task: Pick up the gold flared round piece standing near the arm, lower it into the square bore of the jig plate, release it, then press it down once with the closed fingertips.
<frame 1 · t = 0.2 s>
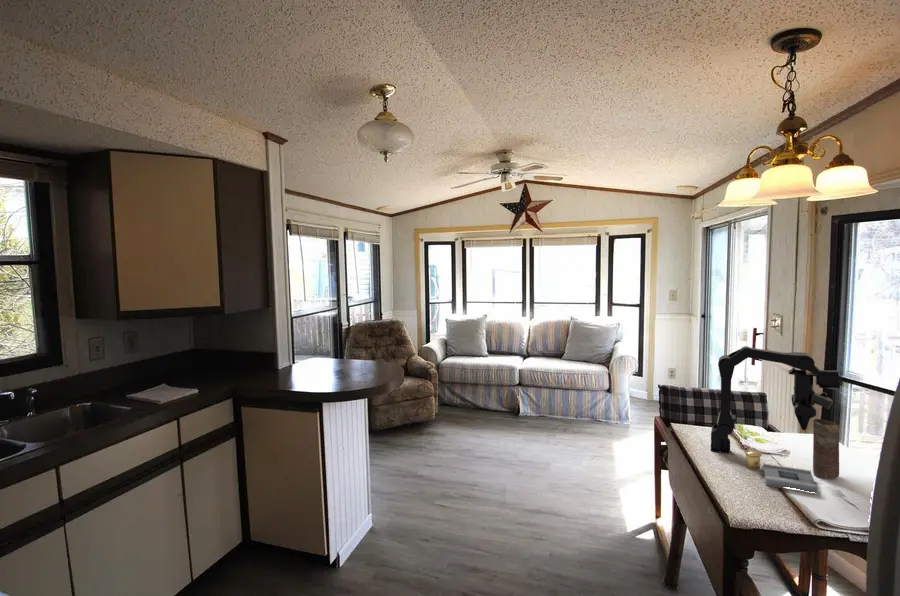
hand: (802, 426, 173), 14 cm above the table, fingers open, 9 cm apart
jig: (788, 482, 160), on the table
gold flared round piece: (753, 467, 172), on the table
candle: (825, 476, 163), on the table
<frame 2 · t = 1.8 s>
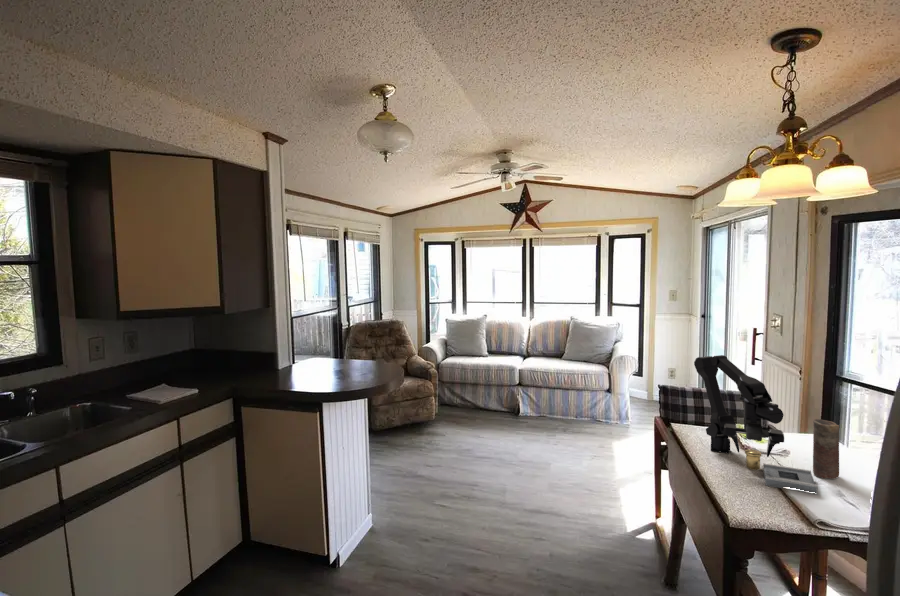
hand: (752, 454, 171), 5 cm above the table, fingers open, 9 cm apart
nothing on the table moved.
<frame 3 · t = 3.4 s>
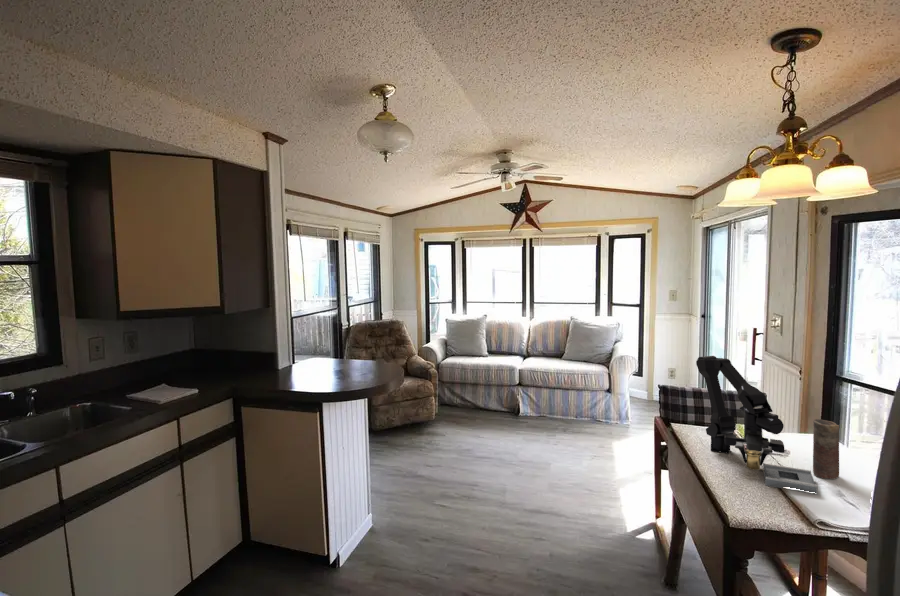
hand: (753, 464, 171), 1 cm above the table, fingers closed on gold flared round piece, 4 cm apart
gold flared round piece: (753, 467, 172), on the table, touching gripper
everything else where it was.
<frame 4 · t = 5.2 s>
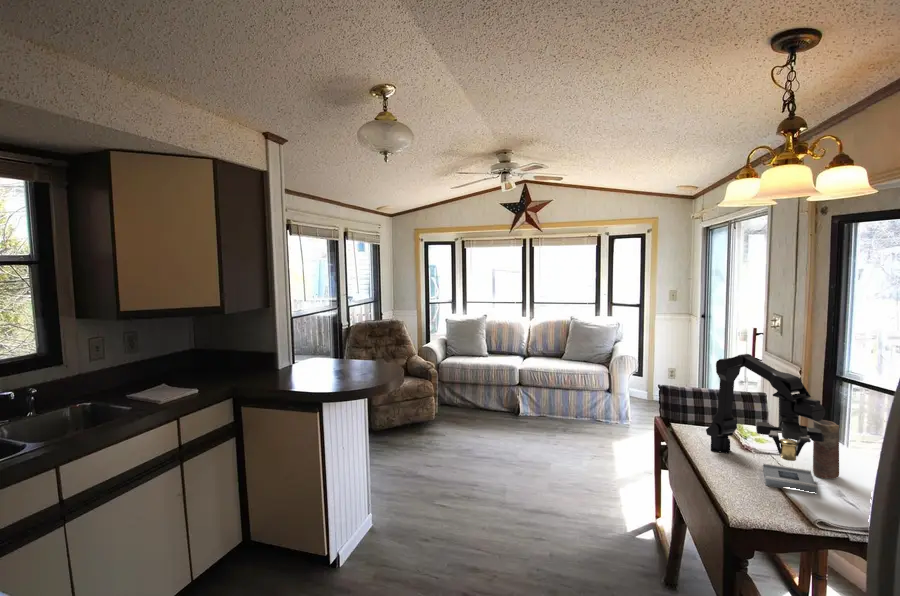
hand: (788, 454, 159), 10 cm above the table, fingers closed on gold flared round piece, 4 cm apart
gold flared round piece: (788, 458, 159), point 9 cm above the table, touching gripper
everything else where it was.
when the fingers open (3 cm above the table, at t = 7.0 s): gold flared round piece drops 2 cm, resting in jig.
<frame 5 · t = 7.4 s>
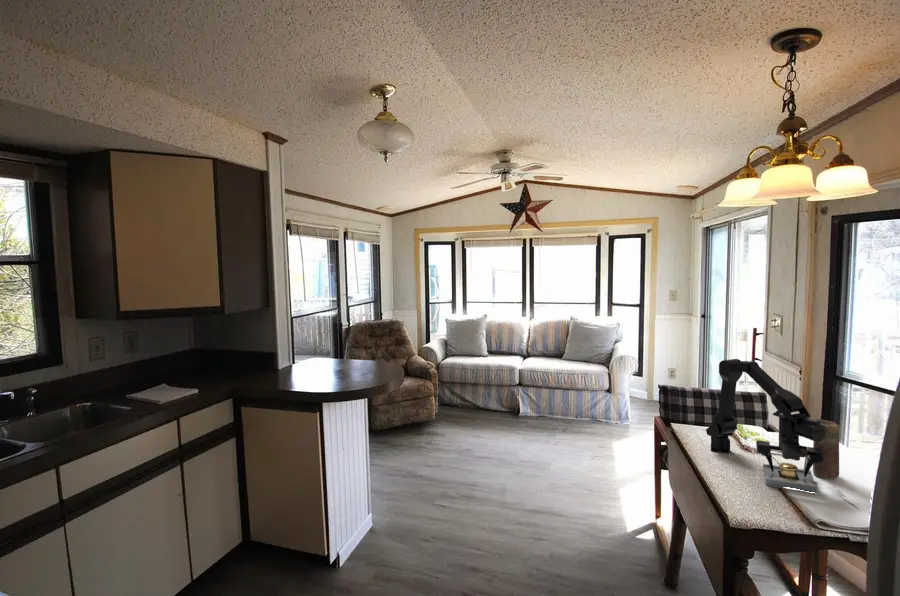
hand: (788, 473, 159), 3 cm above the table, fingers open, 9 cm apart
gold flared round piece: (788, 482, 160), resting in jig
everything else where it was.
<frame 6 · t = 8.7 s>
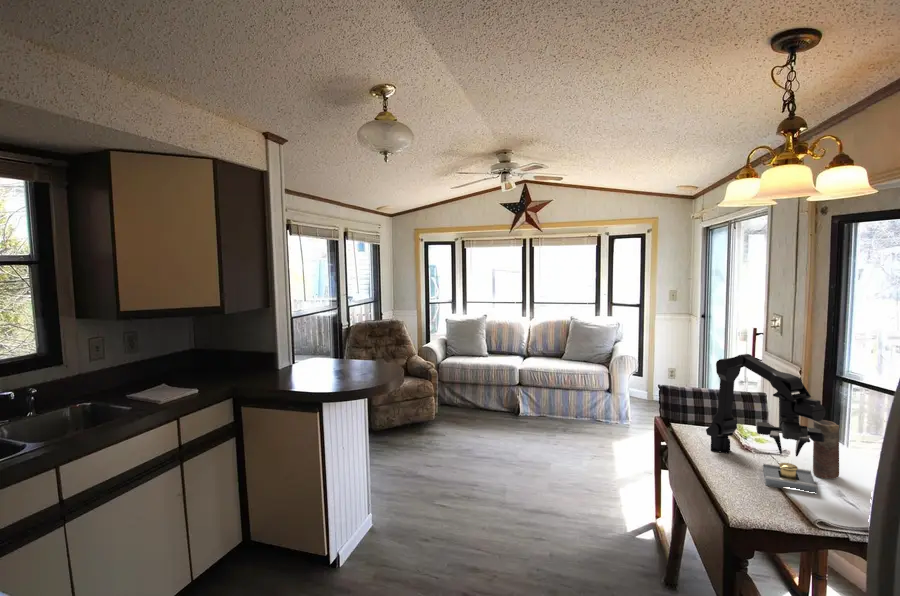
hand: (788, 454, 159), 10 cm above the table, fingers open, 4 cm apart
nothing on the table moved.
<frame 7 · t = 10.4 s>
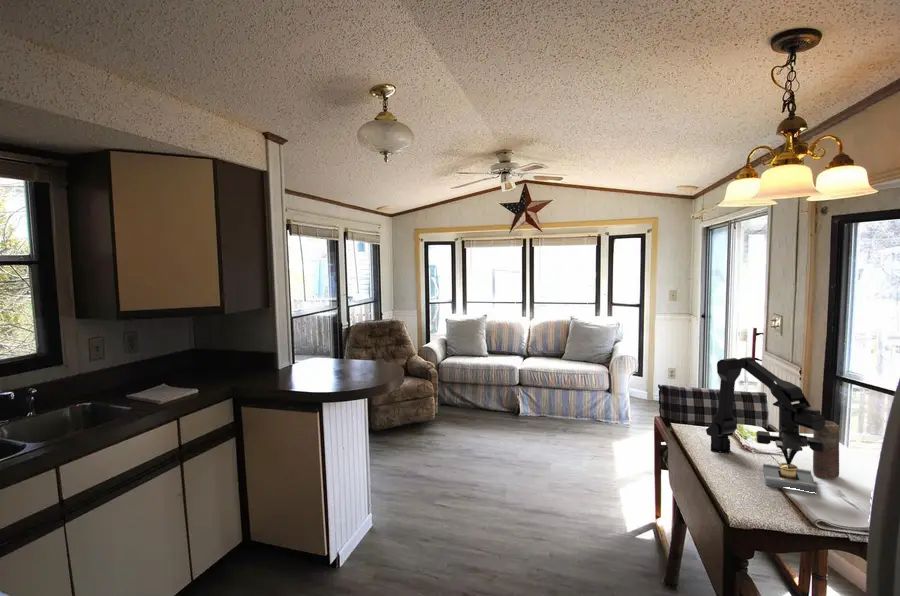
hand: (788, 464, 159), 7 cm above the table, fingers closed
nothing on the table moved.
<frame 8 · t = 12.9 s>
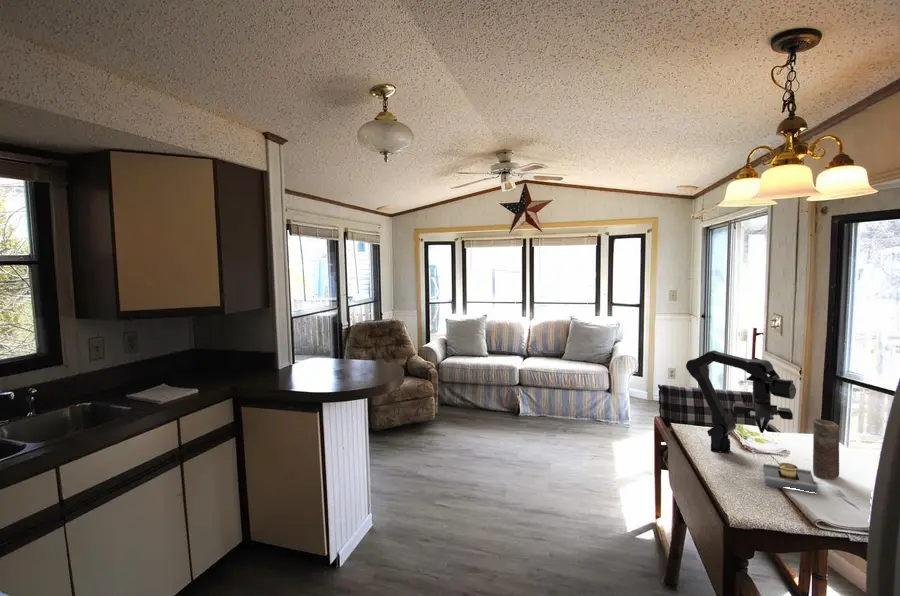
hand: (761, 432, 174), 12 cm above the table, fingers closed
nothing on the table moved.
at the end: gold flared round piece 0.0 cm off-centre on the jig, point 0.0 cm above the jig's base; gold flared round piece tilted 0°; the gripper is holding nothing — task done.
